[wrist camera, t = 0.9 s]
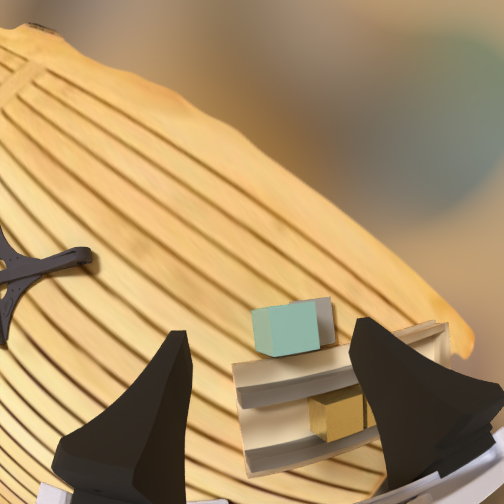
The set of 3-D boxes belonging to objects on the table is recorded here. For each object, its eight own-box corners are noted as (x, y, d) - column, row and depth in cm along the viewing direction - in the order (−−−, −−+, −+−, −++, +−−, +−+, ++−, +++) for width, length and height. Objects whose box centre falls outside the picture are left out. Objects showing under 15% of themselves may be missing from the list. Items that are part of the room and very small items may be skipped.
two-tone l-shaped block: (328, 342, 29) (360, 344, 23) (256, 354, 27) (274, 361, 21) (323, 298, 30) (353, 291, 24) (250, 306, 28) (267, 301, 22)
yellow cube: (376, 408, 27) (397, 415, 23) (347, 418, 26) (367, 428, 22) (374, 376, 28) (397, 381, 24) (345, 386, 27) (366, 392, 23)
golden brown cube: (343, 419, 26) (363, 429, 22) (310, 430, 25) (327, 442, 21) (341, 387, 26) (362, 393, 23) (307, 396, 26) (325, 405, 22)
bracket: (106, 327, 25) (98, 327, 22) (-1, 345, 20) (-14, 345, 18) (89, 195, 27) (82, 183, 25) (-9, 225, 23) (-20, 217, 21)
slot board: (433, 406, 29) (450, 410, 26) (246, 474, 23) (254, 489, 20) (430, 320, 32) (448, 318, 29) (231, 363, 26) (238, 369, 23)
